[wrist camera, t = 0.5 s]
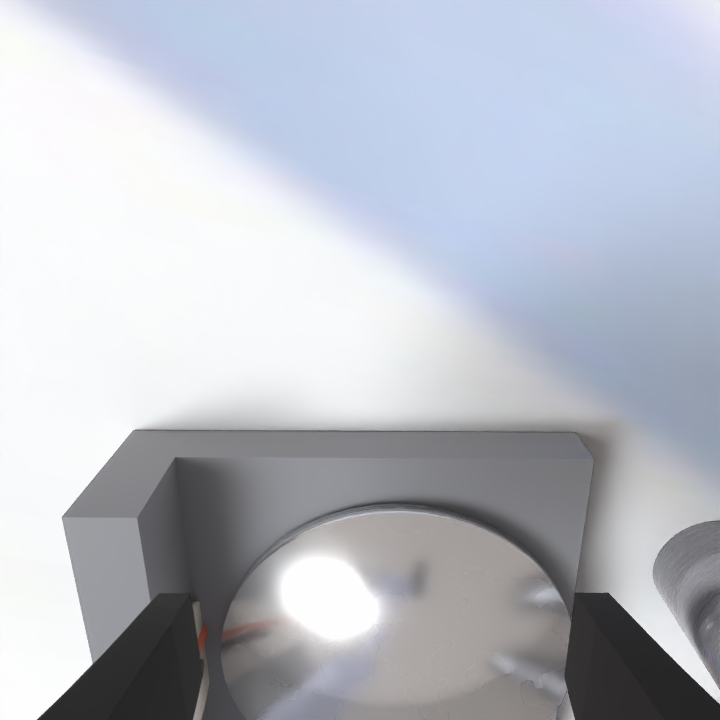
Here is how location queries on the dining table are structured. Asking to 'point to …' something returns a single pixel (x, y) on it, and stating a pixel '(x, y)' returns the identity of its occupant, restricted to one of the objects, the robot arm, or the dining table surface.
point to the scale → (297, 513)
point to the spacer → (694, 588)
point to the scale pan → (396, 622)
